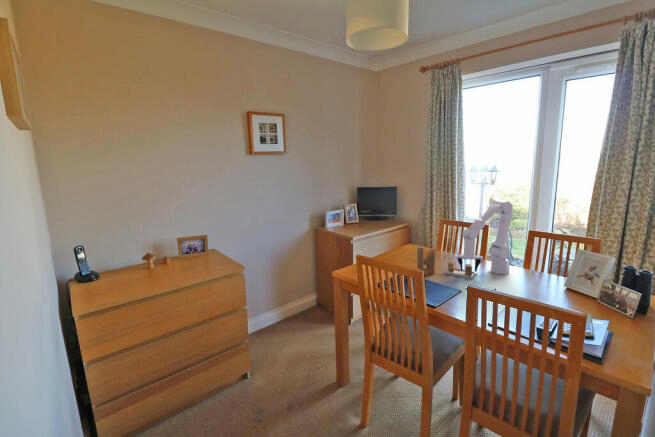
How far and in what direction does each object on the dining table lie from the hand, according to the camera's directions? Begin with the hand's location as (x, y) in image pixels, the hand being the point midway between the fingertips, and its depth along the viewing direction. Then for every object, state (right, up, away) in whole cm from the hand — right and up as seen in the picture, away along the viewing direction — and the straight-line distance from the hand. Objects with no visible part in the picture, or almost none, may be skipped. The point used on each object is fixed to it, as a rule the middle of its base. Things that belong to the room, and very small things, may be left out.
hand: (468, 270), depth 183 cm
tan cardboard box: (0, -2, +1) cm, 2 cm away
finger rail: (-3, -3, +3) cm, 5 cm away
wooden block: (-24, -4, +6) cm, 25 cm away
